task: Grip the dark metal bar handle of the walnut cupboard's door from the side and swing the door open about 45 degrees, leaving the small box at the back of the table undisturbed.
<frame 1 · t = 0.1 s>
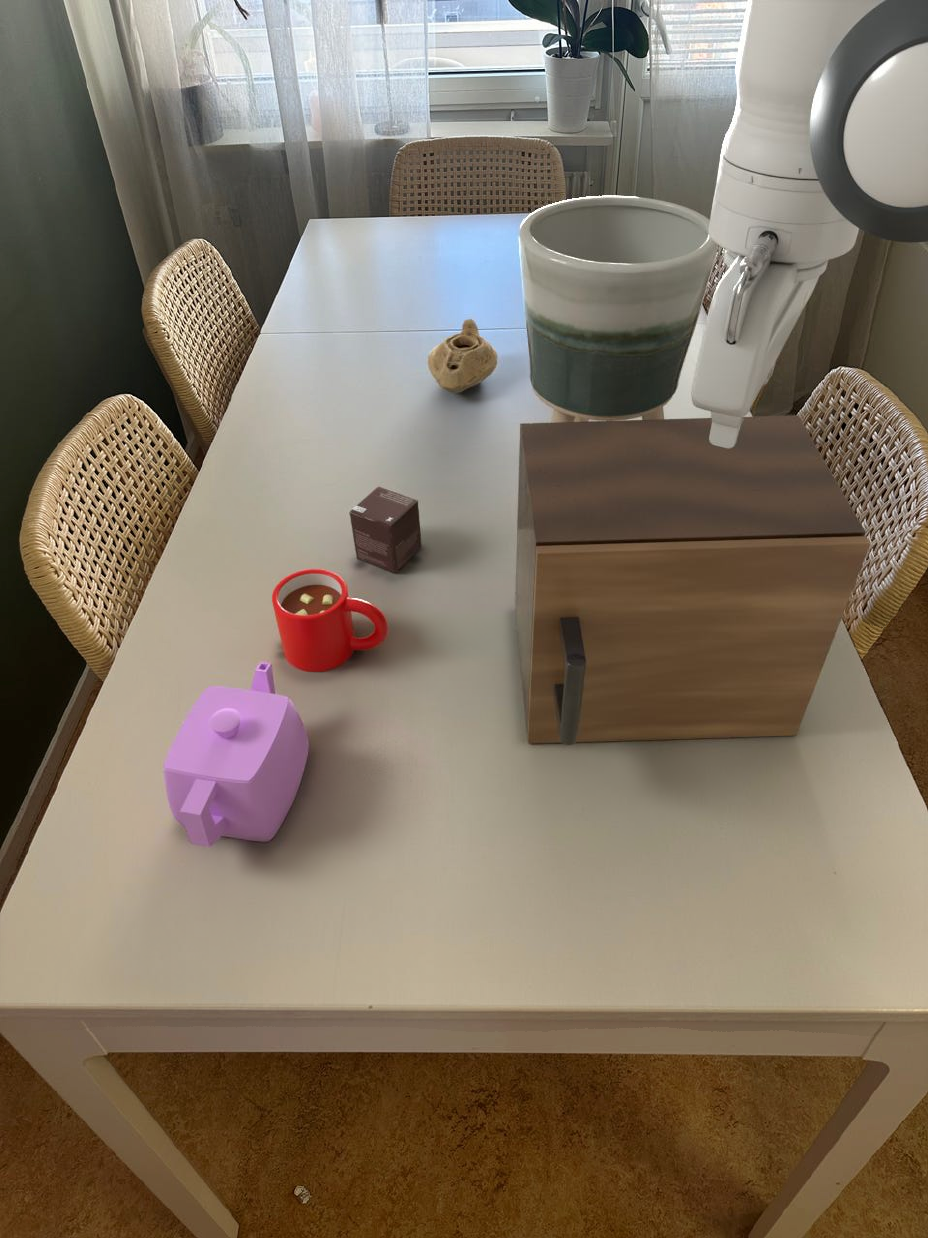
hand: (741, 409, 62), 35 cm above the table, tool pointing down, fingers open, 8 cm apart
planter: (592, 482, 117), on the table
oil lamp: (462, 384, 137), on the table
box: (389, 554, 107), on the table
cupboard: (643, 664, 92), on the table
cupboard door: (686, 674, 75), point 12 cm above the table, hinge at 0.0°
mug: (338, 648, 95), on the table
teapot: (249, 786, 82), on the table
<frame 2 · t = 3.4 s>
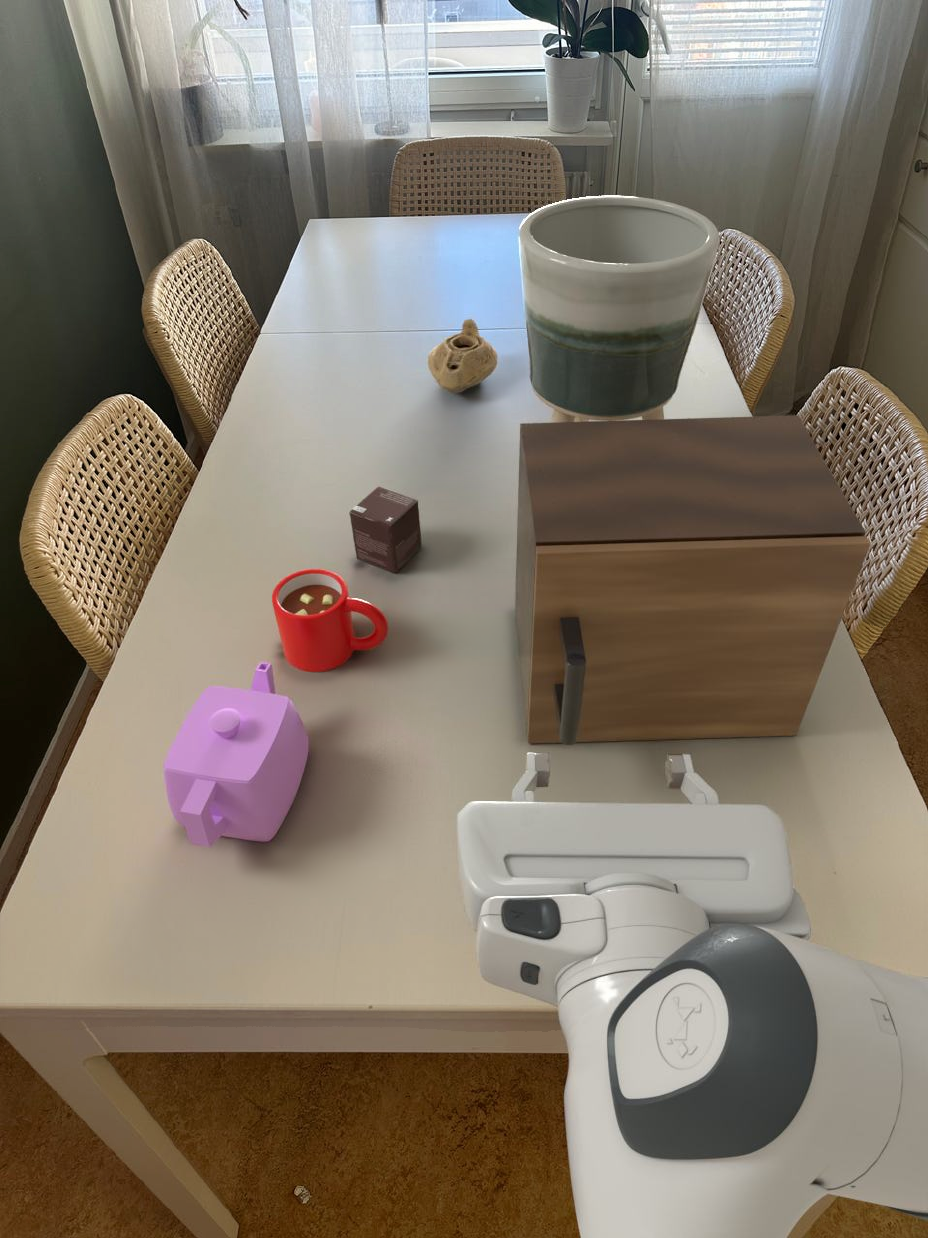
hand: (606, 758, 59), 20 cm above the table, tool horizontal, fingers open, 8 cm apart
nothing on the table moved.
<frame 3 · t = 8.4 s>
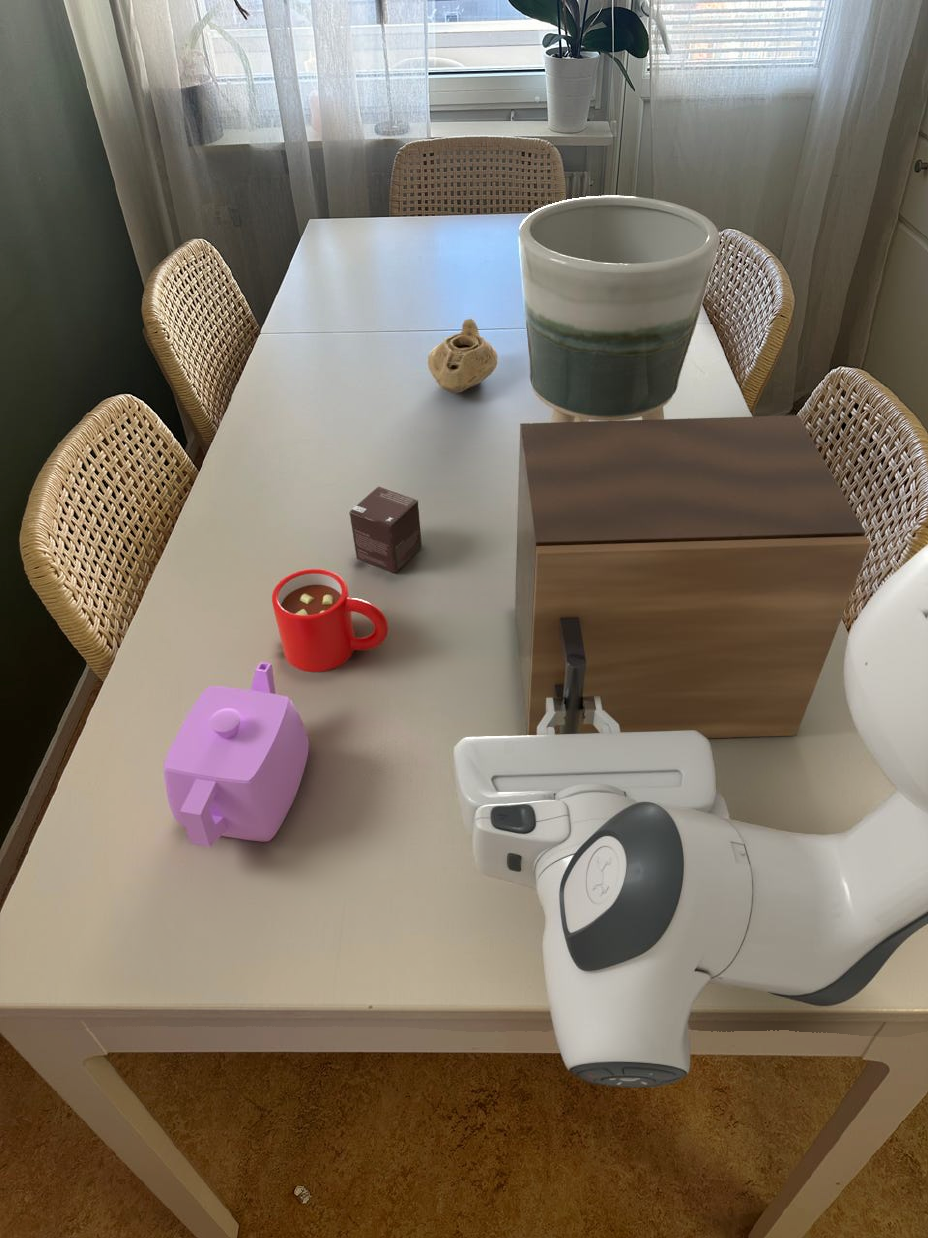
hand: (572, 701, 73), 12 cm above the table, tool horizontal, fingers closed on cupboard door, 2 cm apart
cupboard door: (686, 674, 75), point 12 cm above the table, hinge at 0.0°, touching gripper
everything else where it was.
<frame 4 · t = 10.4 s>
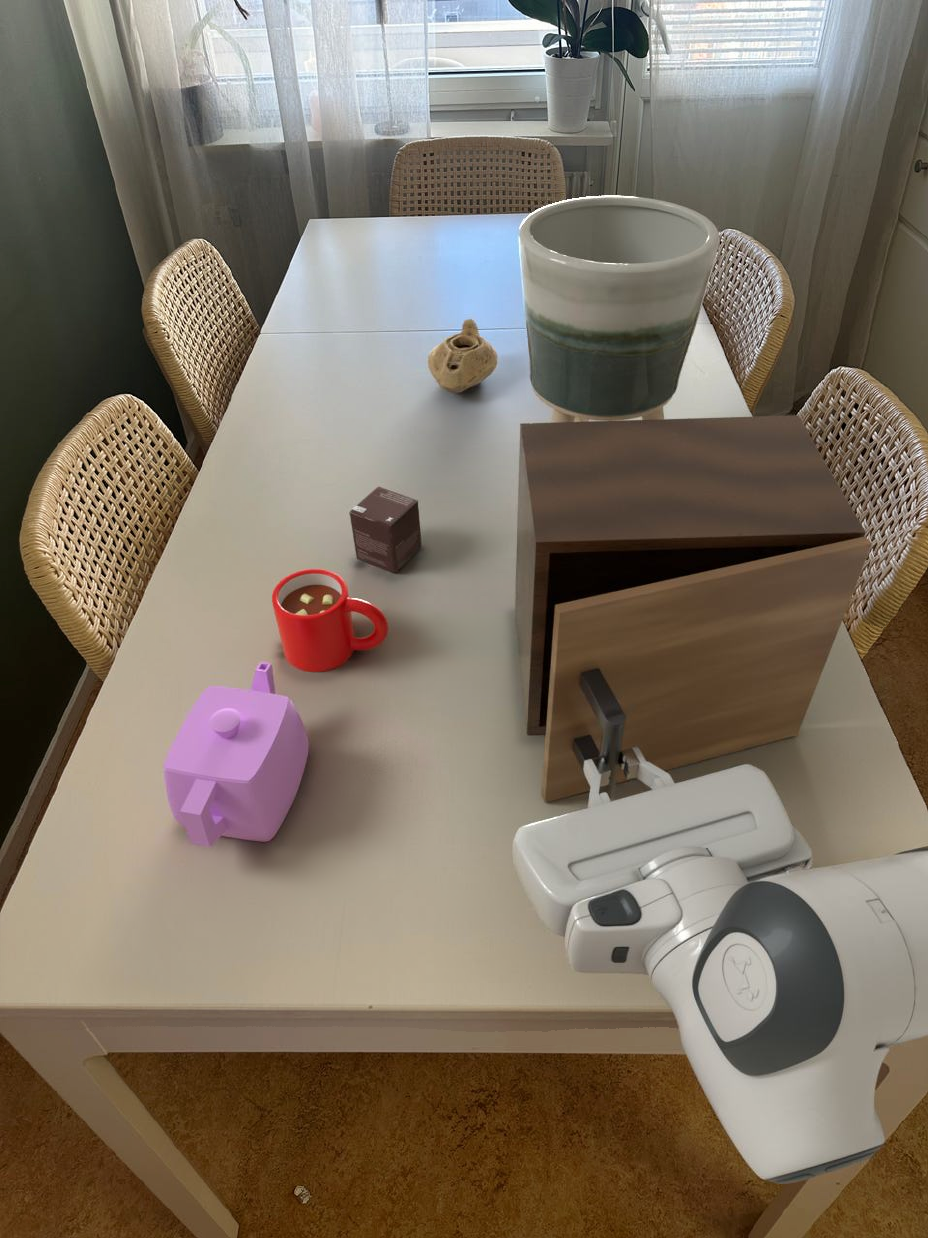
hand: (609, 757, 69), 12 cm above the table, tool horizontal, fingers closed on cupboard door, 2 cm apart
cupboard door: (709, 703, 72), point 12 cm above the table, hinge at 15.2°, touching gripper
everything else where it was.
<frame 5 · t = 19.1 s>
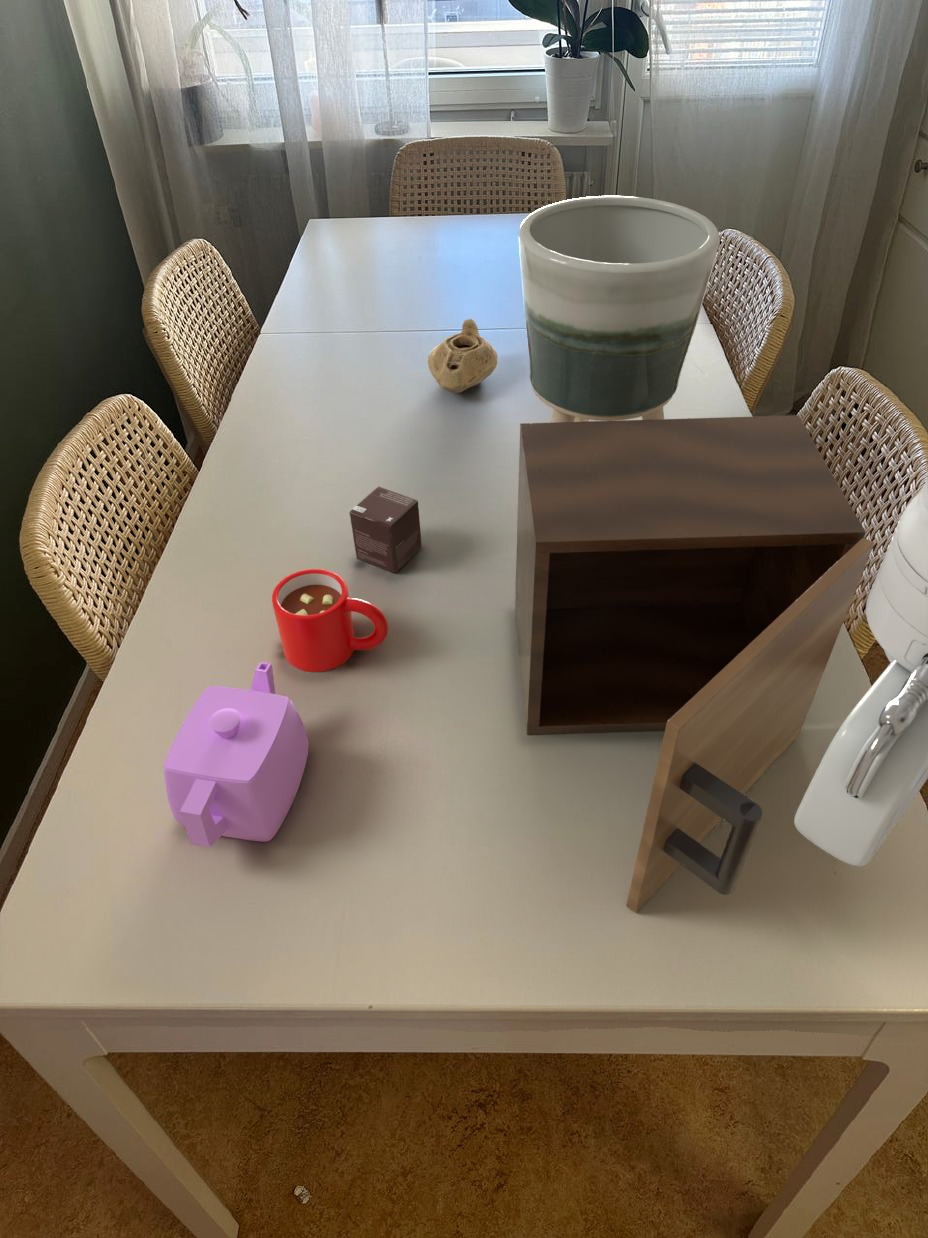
hand: (883, 785, 48), 27 cm above the table, tool pointing down, fingers open, 8 cm apart
cupboard door: (778, 749, 69), point 12 cm above the table, hinge at 43.5°
everything else where it was.
at the end: cupboard door at +44° (first picture: +0°); the gripper is holding nothing; box moved 0.2 cm from its start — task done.
